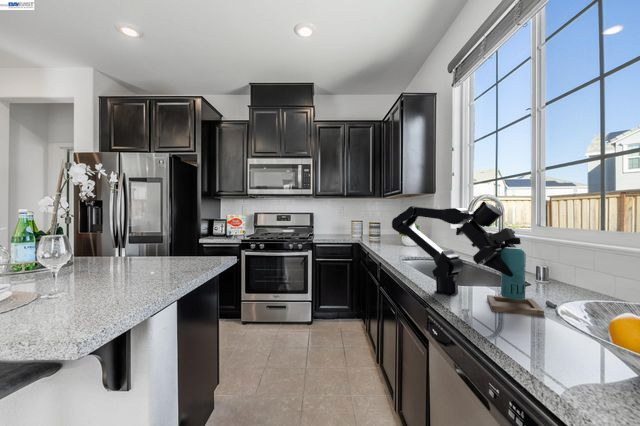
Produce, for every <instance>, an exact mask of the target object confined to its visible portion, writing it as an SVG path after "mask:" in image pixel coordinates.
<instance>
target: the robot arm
mask: <svg viewBox="0 0 640 426" xmlns="http://www.w3.org/2000/svg"><path fill="white" fill-rule="evenodd" d="M501 216H503V212H502V211H501V210H500V208H498V207H496V206H495V205H493V204H491V203H489V202H488V201H482V202H481V203H480V204H479V206H478V207H477V208H476V209H475V210H474V211H469V210H468V209H467V208H464V207H460V208H459V207H456V208H455V207H451V208H450V207H449V208H435V207H434V208H433V207H424V206H419V205H412V206H409V207H408V208H406V210H404V211H403V212H401V213H400V214H398V215H397V216H395V217H393V219H392V220H391V221H392V222H391V228H392V229H393V230H394V231H396V232H398V234H402V235H403V236H406V237H408V238H409V239H410V240H411V241H412V242H414V243H415V244H416V245H417V246H418V247H419V248H421V250H423V251H424V252H426V254H427V255H429V256H430V257H431V258H432V260H433V261H434V264H435V265H436V267H435V268H434V269H432V271H431V272H432V274H433V277H435V283H436V285H435V289H436V290H434V293H435V294H439V295H444V296H451V297H453V296H455V295H457V294H458V293H460V292H459V281H458V280H457V276H459V273H460V272H461V270H462V269H463V267H464V264H463V260H462V259H461V258H460V257H461V256H460V255H459V254H458V255H457V253H455V252H454V251H453V250H452V249H447V250H443V249H442V248H441V247H440V246H439V245H437V244H436V243H434V242H433V241H432V240H431V239H430V238H428V237H427V236H426V235H425V234H424V233H422V232H421V231H420V230H419V229H417V227H416V224H415V223H416V222H417V219H418V217H421V218H429V219H436V220H437V219H438V220H441V221H443V222H444V223H448V224H451V225H461V226H460V227H456V232H455V235H456V236H463V235H465V237H466V238H467V239H468V240H469V242H471V246H472V247H473V248H477V249H478V251H477V252H476V253H475V254H473V257H472V259H473V260H472V261H474V262H475V263H476V264H477V266H478V265H482V266H485V267H488V268H490V269H492V270H495V271H497V272H499V273H500V274H501V273H503V274H505V275H507V276H509V277H512V276H513V275H514V274H513V273H512V272H511V270H510V269H509V268H508V266H507V265H506V264H505V263H504V261H503V260H502V257H501V250H502V249H504V248H506V247H512V248H517V246H516V244H505V240H508V239H512V238H513V237H516V235H515V234H516V231H514V229H512V228H509V227H504V228H502V229H500V231H498V232H494V233H493V232H488V231H486V229H485V227H487V228H489V227H491V226H492V225H494V223H495V222H497V220H499V219H500V218H501ZM483 261H485V262H483Z"/></svg>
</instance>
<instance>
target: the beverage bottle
mask: <svg viewBox="0 0 640 426" xmlns="http://www.w3.org/2000/svg"><path fill="white" fill-rule="evenodd" d="M504 243H505V244H513V245H521V243H522V242H521V238H520V237H517V236H515V237H513V238H512V239H508V240H505V241H504ZM525 254H526V251H524V250H523V249H522V248H519V247H516V248H512V247H506V248H504V249H502V250H501V257H502V260H503V261H504V263H505V264H506V265H507V266H508V268H509V269H510V270H511V272H512V273H513V274H514V275H513V276H512V277H509V276H507V275H505V274H503V273H501V272H500V296H502V297H505V298H508V299H514V300H523V299H525V298H526V297H527V296H526V294H527V293H526V288H527V287H526V286H527V285H526V263H525Z"/></svg>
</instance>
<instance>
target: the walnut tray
mask: <svg viewBox="0 0 640 426" xmlns="http://www.w3.org/2000/svg"><path fill="white" fill-rule="evenodd" d="M486 300H488V301H487V302H488V303H487V304H488V305H489V307H490V309H491V312H494V313H495V312H497V313H504V314H505V313H506V314H515V315H524V316H525V315H526V316H534V317H542V318H543V317H545V310H544V309H543V308H542V307H541V306H540V305H539V304H538V302H536V301H535V299H534V298H528V297H527V298H526V297H525V299H523V300H514V299H508V298H505V297H502V295H492V294H490V295H489V294H487V295H486Z"/></svg>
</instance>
